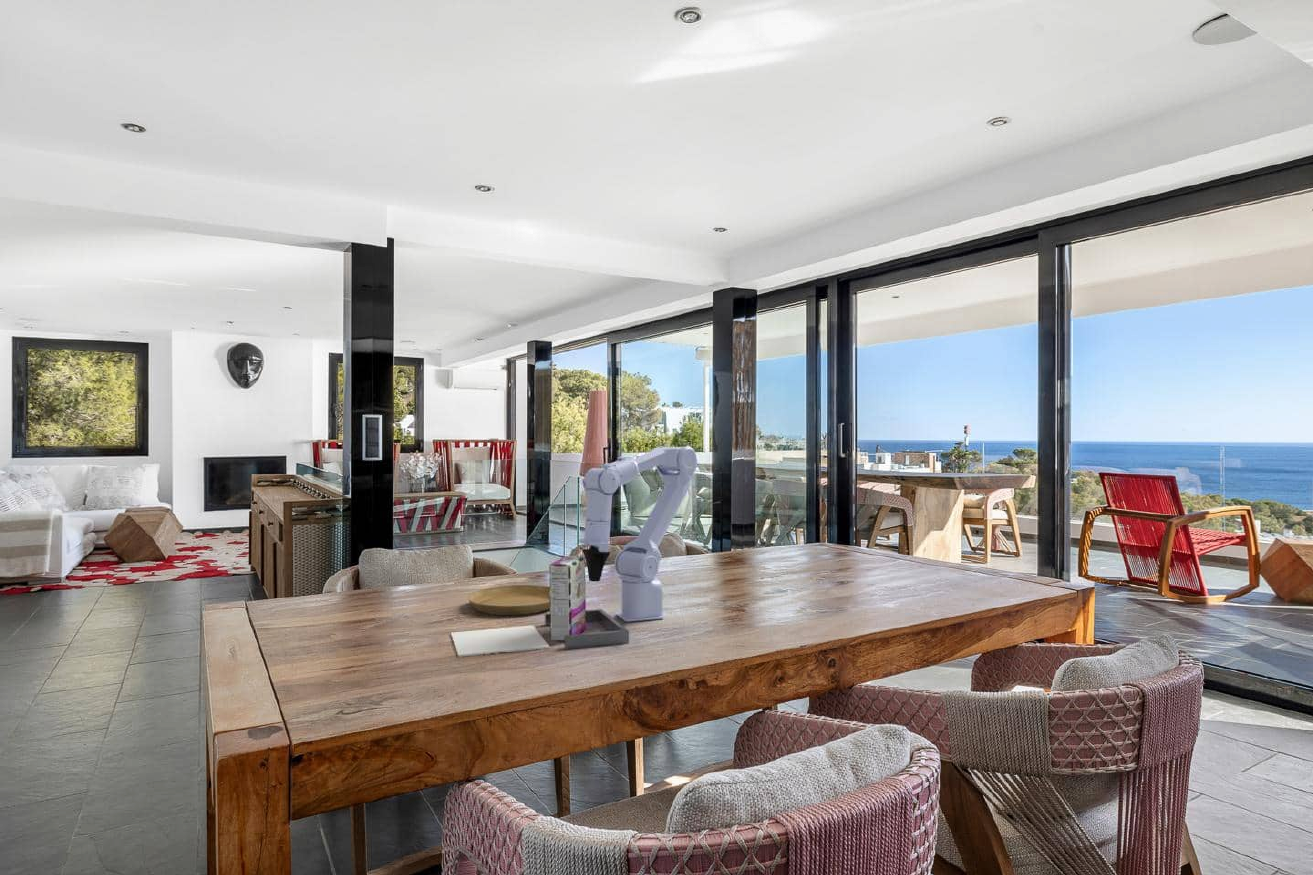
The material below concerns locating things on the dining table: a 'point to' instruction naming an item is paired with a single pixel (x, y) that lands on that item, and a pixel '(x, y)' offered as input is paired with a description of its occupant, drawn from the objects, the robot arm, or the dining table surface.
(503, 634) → the mat
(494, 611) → the plant saucer
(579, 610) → the candy bar box
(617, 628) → the gray u-shaped frame
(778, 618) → the dining table surface
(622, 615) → the robot arm
